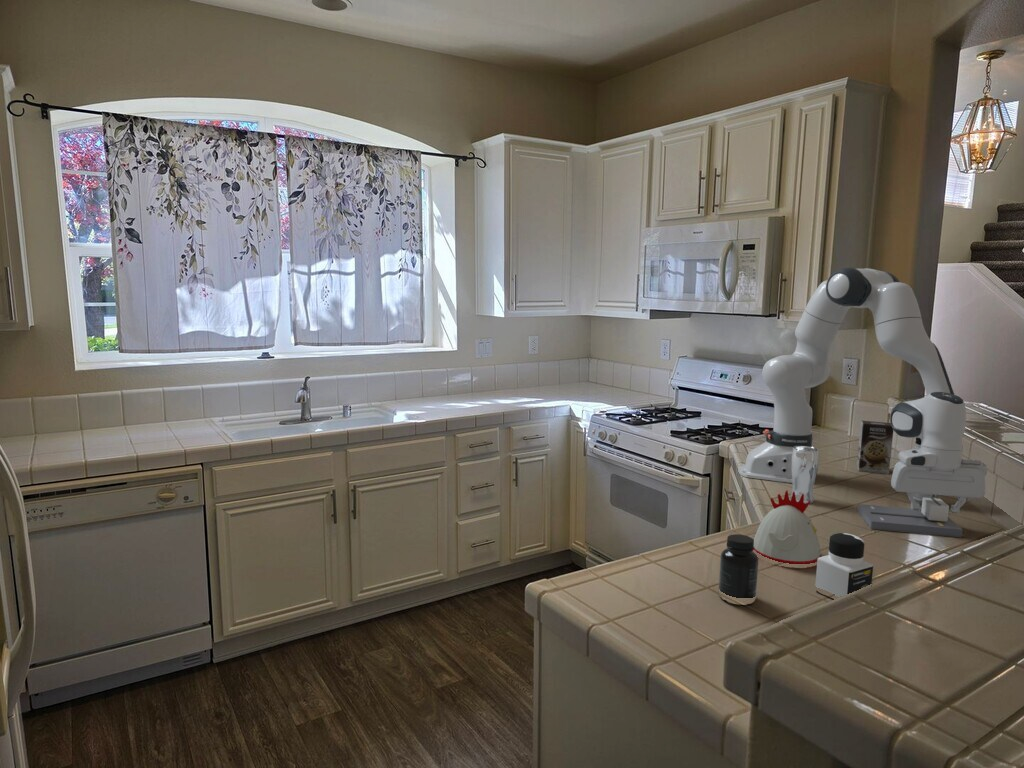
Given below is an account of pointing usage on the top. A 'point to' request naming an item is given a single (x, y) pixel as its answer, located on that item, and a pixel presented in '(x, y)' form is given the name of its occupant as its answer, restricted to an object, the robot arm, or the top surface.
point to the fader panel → (906, 521)
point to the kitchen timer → (788, 533)
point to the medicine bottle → (843, 566)
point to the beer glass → (804, 471)
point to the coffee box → (875, 447)
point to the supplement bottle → (739, 567)
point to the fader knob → (935, 509)
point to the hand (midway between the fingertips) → (934, 511)
